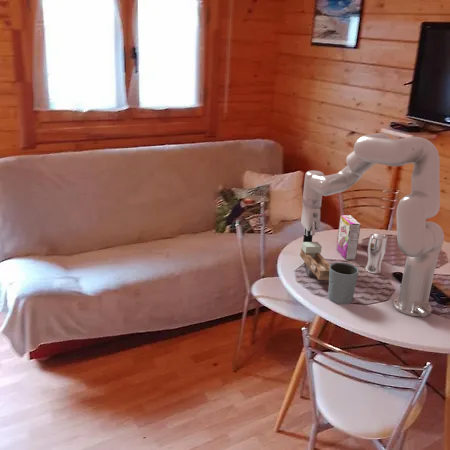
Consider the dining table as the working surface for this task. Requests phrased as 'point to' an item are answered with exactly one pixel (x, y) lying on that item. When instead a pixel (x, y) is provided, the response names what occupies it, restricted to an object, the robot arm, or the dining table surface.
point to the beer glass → (376, 252)
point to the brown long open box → (316, 265)
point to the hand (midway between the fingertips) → (307, 244)
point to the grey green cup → (342, 282)
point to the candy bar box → (348, 237)
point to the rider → (311, 248)
